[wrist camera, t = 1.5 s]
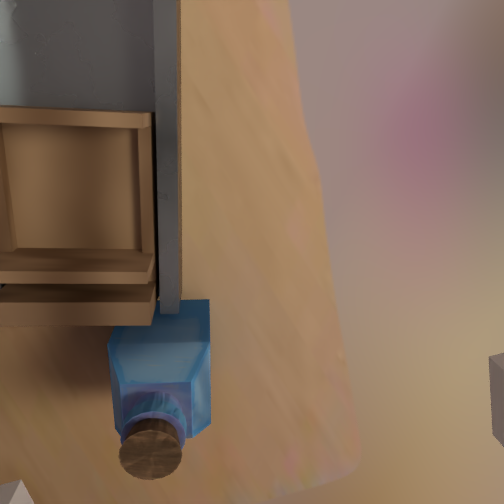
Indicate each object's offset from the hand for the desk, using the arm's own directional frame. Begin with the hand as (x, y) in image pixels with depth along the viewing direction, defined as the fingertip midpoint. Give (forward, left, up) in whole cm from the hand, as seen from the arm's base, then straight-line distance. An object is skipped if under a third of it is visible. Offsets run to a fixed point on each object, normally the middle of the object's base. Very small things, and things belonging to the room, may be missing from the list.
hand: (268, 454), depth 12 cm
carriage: (-9, +3, -19) cm, 22 cm away
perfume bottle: (-4, -8, -21) cm, 23 cm away
